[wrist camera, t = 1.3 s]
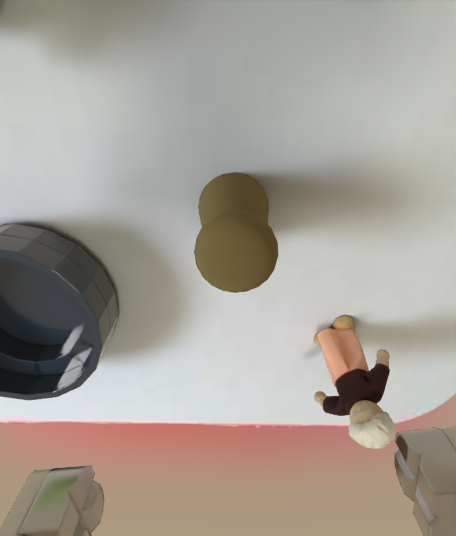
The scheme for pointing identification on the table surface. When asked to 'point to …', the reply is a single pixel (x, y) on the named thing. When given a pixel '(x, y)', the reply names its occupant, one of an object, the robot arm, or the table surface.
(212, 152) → the table surface
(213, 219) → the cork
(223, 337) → the table surface
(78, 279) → the bowl
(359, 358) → the grandmother figurine
